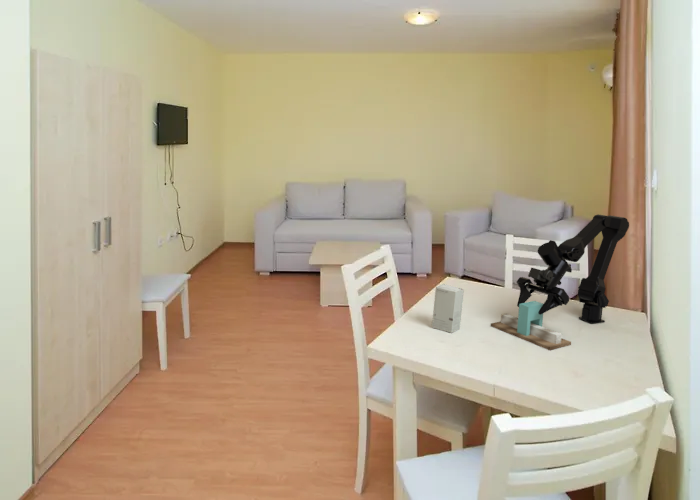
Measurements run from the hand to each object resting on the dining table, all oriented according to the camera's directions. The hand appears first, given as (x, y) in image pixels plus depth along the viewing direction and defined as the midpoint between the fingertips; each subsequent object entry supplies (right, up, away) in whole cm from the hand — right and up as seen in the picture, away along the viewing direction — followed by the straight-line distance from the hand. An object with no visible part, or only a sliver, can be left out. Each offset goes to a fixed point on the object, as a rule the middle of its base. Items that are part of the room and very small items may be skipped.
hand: (528, 309), depth 197 cm
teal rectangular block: (+1, -8, +2) cm, 8 cm away
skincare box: (-26, -7, +8) cm, 28 cm away
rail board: (+1, -9, +3) cm, 9 cm away
